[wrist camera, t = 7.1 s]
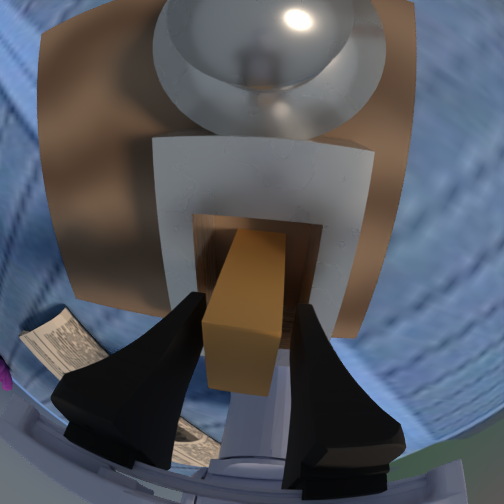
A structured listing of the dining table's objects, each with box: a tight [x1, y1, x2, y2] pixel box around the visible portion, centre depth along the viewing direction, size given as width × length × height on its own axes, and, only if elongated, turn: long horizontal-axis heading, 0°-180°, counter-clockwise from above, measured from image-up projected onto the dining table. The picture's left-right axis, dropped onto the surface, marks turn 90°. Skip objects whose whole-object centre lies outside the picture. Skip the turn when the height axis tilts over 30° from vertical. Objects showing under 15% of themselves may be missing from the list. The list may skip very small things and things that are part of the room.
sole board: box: [37, 0, 416, 338], centre depth 14 cm, size 21×22×2 cm
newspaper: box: [19, 306, 221, 467], centre depth 32 cm, size 37×19×3 cm, turn 28°
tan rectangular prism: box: [202, 229, 286, 397], centre depth 12 cm, size 4×2×7 cm, turn 176°
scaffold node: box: [152, 0, 386, 367], centre depth 10 cm, size 20×9×6 cm, turn 178°
